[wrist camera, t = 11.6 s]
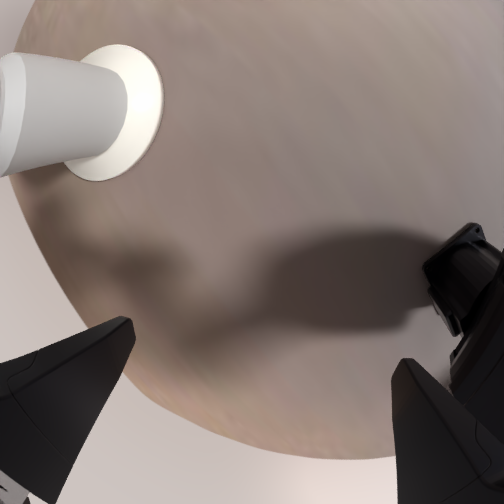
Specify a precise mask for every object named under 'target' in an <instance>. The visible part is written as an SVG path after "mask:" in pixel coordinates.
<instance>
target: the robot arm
mask: <svg viewBox="0 0 504 504" xmlns="http://www.w3.org/2000/svg"><path fill="white" fill-rule="evenodd" d="M476 228H477V231H476V232H475V230H476ZM429 266H430V269H429V270H427V268H428V267H429ZM422 270H423V272H424V274H425V276H426V278H427V280H428V282H429V284H430V287H429V288H428V293H429V295H430V297H431V299H432V301H433V304H434V306H435V308H436V310H437V312H438V313H439V315H440V316H441V318H442V320H443V321H444V323H445V324H446V326H447V328H448V329H449V331H450V333H451V334H452V336H454V337H456V336H458V335H459V334H460V335H461V337H462V339H461V341H460V343H459V344H458V346H457V347H456V349H455V350H453V352H452V353H451V355H450V363H451V368H450V375H451V383H450V384H449V388H450V391H451V393H452V395H451V394H450V393H449V392H448V391H447V390H446V389H445V388H444V387H443V386H442V385H441V384H440V383H439V382H438V381H437V380H436V379H435V378H434V377H432V376H431V375H430V374H429V373H428V372H427V371H426V370H425V369H424V368H423V367H422V366H421V365H420V364H419V363H418V362H416V361H415V360H414V359H412V358H403V359H401V360H400V362H399V364H398V366H397V368H396V370H395V371H394V373H393V375H392V379H391V390H392V422H393V432H394V442H395V453H396V467H397V491H398V504H504V248H503V251H502V252H501V251H499V250H498V249H497V248H495V247H494V246H492V245H491V244H490V243H488V242H487V241H486V239H485V236H484V233H483V230H482V227H481V225H479V224H477V223H474V224H473V225H472V226H470V227H469V228H468V229H467V230H466V231H465V232H463V233H462V234H461V235H460V236H459V237H457V238H456V239H455V240H454V241H453V242H451V243H450V244H449V245H448V246H446V247H445V248H444V249H442V250H441V251H440V252H439V253H437V254H436V255H435V256H433V257H432V258H431V259H430V260H428V261H427V262H426V263H424V265H423V267H422ZM135 340H136V336H135V332H134V327H133V322H132V320H131V319H130V318H127V317H124V316H119V317H116V318H114V319H112V320H109V321H107V322H104V323H102V324H100V325H97V326H95V327H92V328H90V329H88V330H85V331H83V332H80V333H78V334H75V335H73V336H71V337H69V338H66V339H63V340H61V341H58V342H56V343H54V344H51V345H49V346H46V347H44V348H41V349H39V351H38V350H37V351H34V352H32V353H29V354H26V355H24V356H21V357H18V358H16V359H12V360H9V361H6V362H3V363H0V504H30V501H29V498H28V497H27V496H28V494H29V492H31V493H32V494H34V495H35V496H37V497H38V498H40V499H42V500H43V501H45V502H47V503H48V504H55V503H56V502H57V499H58V497H59V495H60V493H61V490H62V488H63V486H64V484H65V482H66V480H67V477H68V475H69V473H70V471H71V469H72V467H73V464H74V463H75V461H76V459H77V456H78V454H79V452H80V450H81V448H82V446H83V444H84V443H85V440H86V439H87V437H88V435H89V433H90V431H91V429H92V427H93V425H94V423H95V421H96V420H97V418H98V416H99V414H100V412H101V410H102V408H103V407H104V405H105V403H106V401H107V399H108V397H109V396H110V394H111V392H112V390H113V389H114V387H115V385H116V383H117V381H118V380H119V378H120V376H121V373H122V371H123V369H124V367H125V364H126V362H127V360H128V357H129V355H130V353H131V351H132V348H133V346H134V344H135Z"/></svg>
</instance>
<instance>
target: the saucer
mask: <svg viewBox="0 0 504 504" xmlns="http://www.w3.org/2000/svg"><path fill="white" fill-rule="evenodd" d="M80 62H83V63H87V64H92V65H96V66H100V67H104V68H108V69H110V70H112V71H114V72H116V73H118V75H119V76H120V77H121V79H122V80H123V81H124V84H125V87H126V91H127V94H128V110H127V114H126V118H125V122H124V125H123V127H122V129H121V131H120V133H119V135H118V137H117V139H116V140H115V141H114V142H113V144H112V145H111V146H110V147H109V148H108V149H107V150H105V151H104V152H102V153H101V154H99V155H97V156H91V157H86V158H80V159H75V160H70V161H65V162H64V163H65V165H66V166H67V167H68V168H69V169H70V170H71V171H72V172H73V173H74V174H76V175H77V176H79V177H81V178H83V179H86V180H90V181H102V180H106V179H110V178H114V177H117V176H119V175H122V174H124V173H125V172H127V171H129V170H130V169H131V168H133V167H134V166H135V165H136V164H137V163H138V162H139V161H140V160H141V159H142V158H143V157H144V155H145V154H146V153H147V151H148V150H149V148H150V146H151V145H152V143H153V141H154V139H155V137H156V135H157V132H158V129H159V127H160V124H161V120H162V115H163V109H164V87H163V82H162V78H161V75H160V73H159V70H158V68H157V67H156V65H155V63H154V62H153V61H152V60H151V59H150V57H148V56H147V55H146V54H145V53H143V52H141V51H139V50H137V49H135V48H133V47H130V46H126V45H109V46H105V47H102V48H100V49H97V50H95V51H94V52H92V53H90V54H89V55H87V56H86V57H85V58H84V59H82V60H81V61H80Z"/></svg>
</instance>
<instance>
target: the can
mask: <svg viewBox="0 0 504 504" xmlns="http://www.w3.org/2000/svg"><path fill="white" fill-rule="evenodd" d="M127 110H128V94H127V91H126V87H125V84H124V81H123V80H122V79H121V77H120V76H119V75H118V73H116V72H114V71H112V70H110V69H108V68H104V67H100V66H96V65H92V64H87V63H83V62H78V61H73V60H68V59H62V58H56V57H50V56H43V55H36V54H28V53H18V52H13V53H9V54H6V55H4V56H3V57H2V58H1V59H0V177H4V176H7V175H11V174H14V173H18V172H22V171H25V170H29V169H33V168H37V167H42V166H46V165H50V164H55V163H60V162H65V161H70V160H75V159H80V158H86V157H91V156H97V155H99V154H101V153H102V152H104V151H105V150H107V149H108V148H109V147H110V146H111V145H112V144H113V142H114V141H115V140H116V139H117V137H118V135H119V133H120V131H121V129H122V127H123V125H124V122H125V118H126V114H127Z"/></svg>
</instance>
